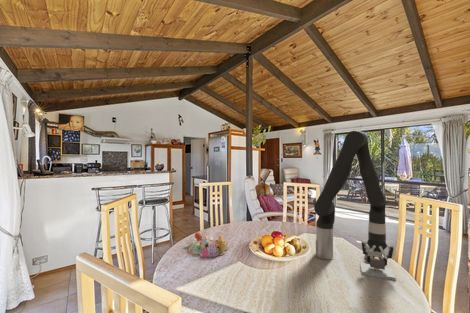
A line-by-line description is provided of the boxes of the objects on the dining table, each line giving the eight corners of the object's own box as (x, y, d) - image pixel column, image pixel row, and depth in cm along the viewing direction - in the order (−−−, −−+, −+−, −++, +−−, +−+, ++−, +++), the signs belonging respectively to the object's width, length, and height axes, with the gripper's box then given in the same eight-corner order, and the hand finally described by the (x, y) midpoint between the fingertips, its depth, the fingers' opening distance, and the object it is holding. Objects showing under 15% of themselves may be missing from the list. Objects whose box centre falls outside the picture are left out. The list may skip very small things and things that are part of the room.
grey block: (370, 267, 113) (370, 259, 113) (369, 262, 118) (369, 254, 118) (384, 269, 110) (384, 261, 110) (382, 264, 116) (382, 256, 116)
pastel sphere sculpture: (228, 242, 154) (228, 228, 154) (228, 258, 130) (228, 242, 130) (191, 242, 153) (191, 229, 153) (184, 258, 130) (184, 242, 130)
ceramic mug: (382, 263, 123) (382, 249, 123) (365, 260, 127) (365, 246, 127) (379, 255, 133) (380, 242, 133) (363, 253, 136) (364, 240, 137)
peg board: (361, 273, 113) (361, 259, 112) (360, 264, 122) (360, 251, 122) (395, 280, 107) (395, 265, 107) (391, 270, 116) (391, 256, 116)
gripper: (361, 231, 114) (361, 264, 114) (395, 235, 108) (395, 270, 108) (360, 226, 120) (359, 258, 121) (392, 230, 114) (392, 263, 114)
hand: (376, 264), depth 114 cm, fingers closed on grey block, 6 cm apart
